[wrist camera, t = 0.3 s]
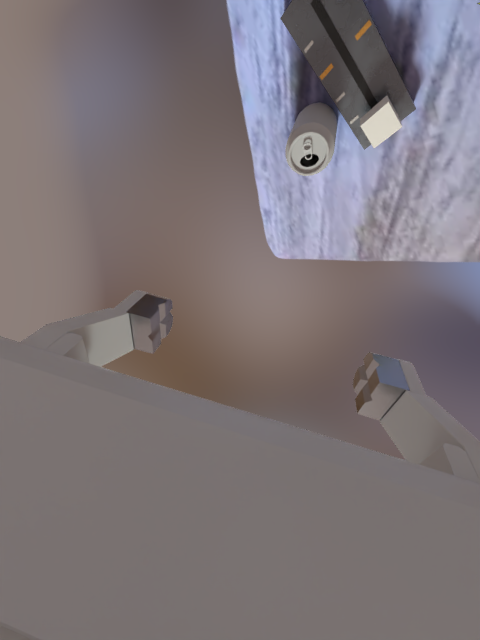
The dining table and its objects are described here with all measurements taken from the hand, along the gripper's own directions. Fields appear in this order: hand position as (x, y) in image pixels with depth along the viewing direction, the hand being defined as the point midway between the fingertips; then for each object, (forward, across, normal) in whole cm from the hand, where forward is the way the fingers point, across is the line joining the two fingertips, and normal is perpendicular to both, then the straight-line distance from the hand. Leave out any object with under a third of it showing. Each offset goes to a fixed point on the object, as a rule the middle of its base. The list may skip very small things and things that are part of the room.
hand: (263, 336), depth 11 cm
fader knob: (+47, -8, -11) cm, 49 cm away
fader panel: (+48, -2, -17) cm, 51 cm away
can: (+52, +1, -8) cm, 52 cm away
